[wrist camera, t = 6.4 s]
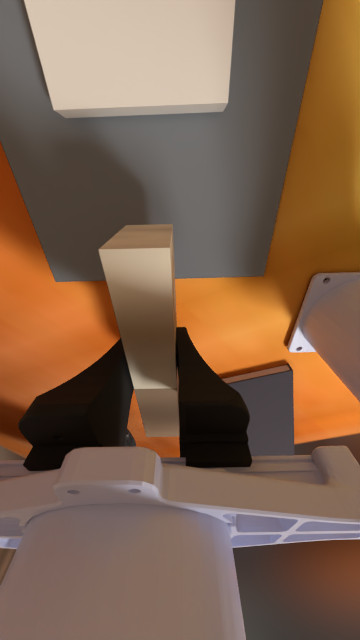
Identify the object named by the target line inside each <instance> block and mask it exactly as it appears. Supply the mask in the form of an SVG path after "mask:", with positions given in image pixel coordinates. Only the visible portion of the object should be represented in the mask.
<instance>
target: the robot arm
mask: <svg viewBox="0 0 360 640" xmlns="http://www.w3.org/2000/svg"><path fill="white" fill-rule="evenodd" d="M325 278H327V279H326V281H324V282H323V280H324V279H325ZM287 349H288V350H289V351H290V352H317V353H318V354H319V355H320V356H321V358H322V359H323V360H324V361H325V362H326V363H327V365H328V366H329V367H330V368H331V369H332V370H333V371H334V373H335V374H336V375H337V376H338V377H339V378H340V380H341V381H342V382H343V383H344V384H345V385H346V387H347V388H348V389H349V390H350V391H351V392H352V393H353V395H354V396H355V397H356V398H357V399H358V400H359V402H360V272H339V273H318V274H316V275H314V276H313V277H312V279H311V282H310V284H309V287H308V290H307V293H306V296H305V298H304V301H303V304H302V307H301V310H300V312H299V315H298V318H297V321H296V324H295V326H294V329H293V332H292V335H291V338H290V340H289V343H288V346H287ZM176 350H177V369H178V379H179V390H178V405H179V437H180V458H160V457H159V456H158V455H157V453H156V452H155V451H153V450H151V449H148V448H145V447H124V446H125V438H126V431H127V424H128V417H129V410H130V404H131V398H132V394H133V390H134V386H133V382H132V378H131V375H130V371H129V367H128V363H127V359H126V355H125V351H124V347H123V343H122V340H121V338H120V339H119V340H118V342H117V343H116V344H115V345H114V346H113V347H112V348H111V349H110V350H109V351H108V352H107V353H105V354H104V355H103V356H102V357H101V358H100V359H99V360H98V361H96V362H95V363H94V364H92V365H91V366H90V367H88V368H87V369H85V370H84V371H83V372H81V373H80V374H78V375H77V376H75V377H73V378H72V379H70V380H68V381H67V382H65V383H63V384H61V385H60V386H58V387H56V388H54V389H52V390H50V391H48V392H46V393H44V394H42V395H39V396H37V397H36V398H35V400H34V401H33V403H32V404H31V405H30V407H29V408H28V410H27V411H26V413H25V414H24V416H23V417H22V419H21V420H20V422H19V424H18V425H19V430H20V431H21V433H22V434H23V435H24V437H25V438H26V439H27V440H28V441H29V442H30V443H31V444H32V446H33V448H32V449H31V451H30V453H29V455H28V456H27V458H26V460H15V461H0V548H10V549H17V550H16V552H15V554H14V557H13V559H12V561H11V563H10V565H9V568H8V570H7V572H6V574H5V576H4V579H3V581H2V583H1V585H0V640H246V636H245V629H244V623H243V617H242V610H241V603H240V598H239V590H238V583H237V577H236V570H235V563H234V557H233V551H232V548H235V547H247V546H258V545H270V544H281V543H293V542H305V541H320V540H339V539H340V540H341V539H360V465H359V464H358V463H357V461H356V460H355V458H354V457H353V455H352V453H351V452H350V450H349V449H348V447H346V446H321V447H318V448H316V449H314V451H313V452H312V455H296V456H295V455H292V456H251V453H250V450H249V446H248V441H249V440H248V436H247V432H246V431H247V428H248V425H249V422H250V415H249V411H248V408H247V406H246V404H245V402H244V400H243V398H242V396H241V395H240V393H239V392H238V391H236V390H235V389H233V388H232V387H231V386H229V385H228V384H227V383H226V382H224V381H223V380H222V379H221V378H220V377H219V376H218V375H217V374H216V373H215V372H214V371H213V370H212V369H211V368H210V367H209V366H208V365H207V364H206V362H205V361H204V360H203V359H202V357H201V356H200V354H199V353H198V351H197V350H196V348H195V347H194V345H193V343H192V341H191V339H190V337H189V335H188V332H187V329H186V328H185V327H176Z"/></svg>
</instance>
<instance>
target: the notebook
mask: <svg viewBox="0 0 360 640" xmlns="http://www.w3.org/2000/svg"><path fill="white" fill-rule="evenodd" d="M222 380H223V381H224V382H226V383H227V384H228V385H229V386H231V387H232V388H233V389H235V390H236V391H238V392H239V393H240V395H241V396H242V398H243V400H244V402H245V404H246V406H247V408H248V411H249V415H250V422H249V425H248V428H247V431H246V432H247V436H248V440H249V441H248V446H249V450H250V453H251V456H292V455H294V412H293V370H292V368H291V367H290V365H289V364H288V363H287V365H284V366H279V367H275V368H270V369H265V370H261V371H256V372H252V373H247V374H243V375H238V376H233V377H229V378H224V379H222Z"/></svg>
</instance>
